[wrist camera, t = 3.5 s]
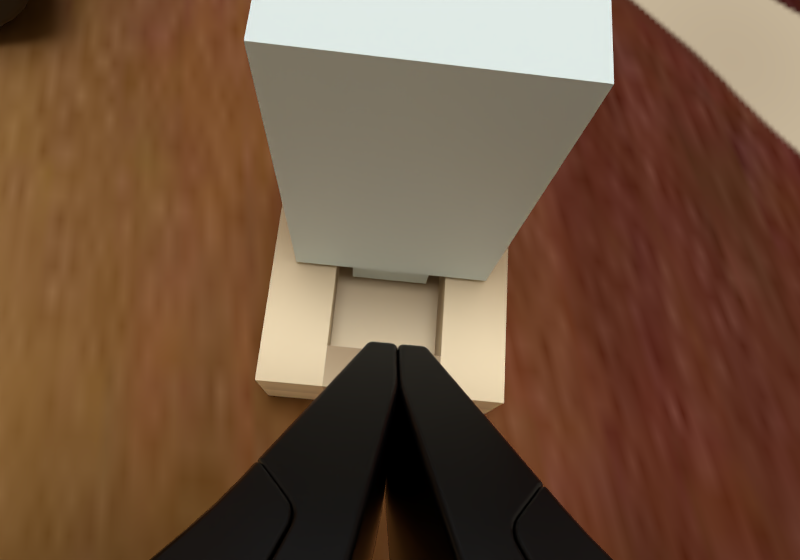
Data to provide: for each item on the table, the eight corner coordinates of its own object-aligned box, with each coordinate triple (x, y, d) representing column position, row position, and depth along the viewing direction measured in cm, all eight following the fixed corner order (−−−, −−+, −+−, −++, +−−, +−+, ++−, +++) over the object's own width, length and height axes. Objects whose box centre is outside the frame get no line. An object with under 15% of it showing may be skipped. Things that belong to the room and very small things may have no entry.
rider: (475, 296, 17) (613, 83, 8) (300, 278, 17) (243, 40, 8) (481, 166, 18) (606, -141, 9) (318, 148, 18) (287, -183, 9)
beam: (486, 415, 18) (508, 403, 15) (264, 395, 17) (250, 379, 15) (505, -113, 24) (523, -182, 22) (343, -134, 24) (342, -206, 21)
